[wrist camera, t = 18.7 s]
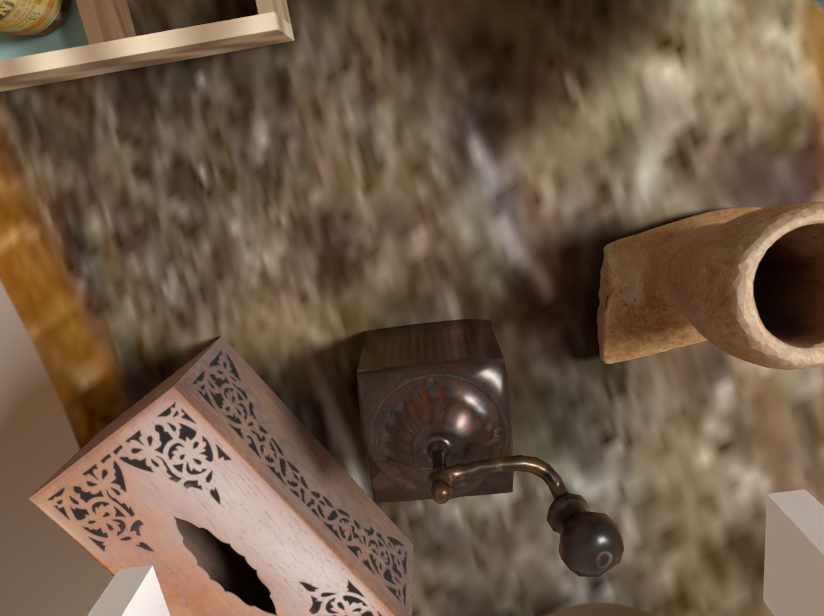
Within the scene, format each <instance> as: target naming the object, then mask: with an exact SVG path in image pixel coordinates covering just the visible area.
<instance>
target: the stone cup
mask: <svg viewBox="0 0 824 616" xmlns="http://www.w3.org/2000/svg"><path fill="white" fill-rule="evenodd" d="M603 253H604V261H603V264H602V268H601V271H600V275H601V279H600V289H599V299H600V304H599V308H598V312H597V325H598V342H599V350H600V358H601V360H602V362H604V363H606V364H611V363H615V362H620V361H626V360H630V359H634V358H639V357H643V356H648V355H652V354H655V353H659V352H664V351H667V350H671V349H673V348H676V347H683V346H687V345H691V344H695V343H698V342H702V341H706V340H708V341H710V342H711V343H713V344H714V345H715V346H717V347H718V348H720V349H721V350H723V351H725V352H726V353H728V354H730V355H732V356H734V357H737V358H739V359H742V360H744V361H747V362H750V363H753V364H757V365H760V366H764V367H767V368H775V369H786V370H791V369H803V368H810V367H817V366H821V365H824V202H801V203H788V204H778V205H774V206H770V207H765V208H756V207H738V208H728V209H721V210H714V211H710V212H706V213H702V214H698V215H695V216H692V217H688V218H685V219H682V220H679V221H676V222H672V223H669V224H666V225H663V226H660V227H657V228H654V229H651V230H648V231H645V232H642V233H639V234H636V235H633V236H629V237H626V238H622V239H619V240H616V241H614V242H612V243H610V244H607V245H606V246H605V247H604V251H603Z"/></svg>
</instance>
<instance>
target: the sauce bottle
mask: <svg viewBox="0 0 824 616" xmlns="http://www.w3.org/2000/svg"><path fill="white" fill-rule="evenodd" d="M70 2H71V0H0V31H1V32H4V33H7V34H10V35H19V36H38V35H45V34H49V33H51V32H52V31H53V30H55V29H58V28H59V26H60V25H61V24H62V22H63V21H64V19H65V17H66V15H67V12H68V8H69V6H70Z"/></svg>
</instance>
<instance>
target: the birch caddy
mask: <svg viewBox="0 0 824 616" xmlns="http://www.w3.org/2000/svg"><path fill="white" fill-rule="evenodd" d="M256 5H257V9H258V14H259V15H254V16H248V17H242V18H237V19H231V20H225V21H220V22H214V23H209V24H203V25H197V26H192V27H186V28H180V29H175V30H169V31H163V32H158V33H152V34H147V35H141V36H136V33H135V29H134V25H133V22H132V18H131V14H130V11H129V7H128V3H127V0H71V2H70V6H69V8H68V12H67V15H66V17H65V19H64V21H63V22H62V24H61V25H60V26H59V28H58V29H55V30H53V31H52V32H51V33H49V34H45V35H38V36H19V35H10V34H7V33H4V32H1V31H0V92H4V91H9V90H15V89H21V88H26V87H32V86H38V85H44V84H49V83H55V82H61V81H67V80H72V79H78V78H84V77H90V76H95V75H101V74H107V73H113V72H118V71H124V70H130V69H136V68H141V67H147V66H153V65H158V64H164V63H170V62H176V61H181V60H187V59H193V58H199V57H204V56H210V55H216V54H222V53H227V52H233V51H239V50H245V49H250V48H256V47H262V46H268V45H273V44H279V43H285V42H290V41H294V36H293V31H292V26H291V21H290V16H289V11H288V6H287V1H286V0H256Z"/></svg>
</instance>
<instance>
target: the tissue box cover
mask: <svg viewBox="0 0 824 616" xmlns="http://www.w3.org/2000/svg"><path fill="white" fill-rule="evenodd" d="M29 500H30V501H31V502H32V503H34V504H35V505H36V506H37V507H38V508H39V509H40V510H42V511H43V512H44V513H45V514H46V515H47V516H48V517H49V518H50V519H51V520H52V521H54V522H55V523H56V524H57V525H58V526H59V527H60V528H61V529H62V530H64V531H65V532H66V533H67V534H68V535H69V536H70V537H71V538H73V539H74V540H75V541H76V542H77V543H78V544H79V545H80V546H81V547H82V548H84V549H85V550H86V551H87V552H88V553H89V554H90V555H91V556H92V557H93V558H95V559H96V560H97V561H98V562H99V563H100V564H101V565H103V566H104V567H105V568H106V569H107V570H108V571H109V572H110V573H111V574H113V576H115V574H116V573H117V572H118V570H119V569H124V568H133V567H141V566H150V565H153V568H154V571H155V574H156V576H157V579H158V582H159V585H160V588H161V591H162V594H163V596H164V599H165V602H166V605H167V608H168V611H169V614H170V616H412V593H413V544H412V543H411V542H410V541H409V540H408V539H407V538H406V536H405V535H404V534H403V533H402V532H401V531H400V530H399V529H398V528H397V527H396V526H395V524H394V523H393V522H392V521H391V520H390V519H389V518H388V517H387V516H386V515H385V514H384V512H383V511H382V510H381V509H380V508H379V507H378V506H377V505H376V504H375V503H374V501H373V500H372V499H371V498H370V497H369V496H368V495H367V494H366V493H365V492H364V491H363V489H362V488H361V487H360V486H359V485H358V484H357V483H356V482H355V481H354V480H353V479H352V477H351V476H350V475H349V474H348V473H347V472H346V471H345V470H344V469H343V468H342V466H341V465H340V464H339V463H338V462H337V461H336V460H335V459H334V458H333V457H332V456H331V454H330V453H329V452H328V451H327V450H326V449H325V448H324V447H323V446H322V445H321V443H320V442H319V441H318V440H317V439H316V438H315V437H314V436H313V435H312V434H311V433H310V431H309V430H308V429H307V428H306V427H305V426H304V425H303V424H302V423H301V422H300V421H299V419H298V418H297V417H296V416H295V415H294V414H293V413H292V412H291V411H290V410H289V408H288V407H287V406H286V405H285V404H284V403H283V402H282V401H281V400H280V399H279V398H278V396H277V395H276V394H275V393H274V392H273V391H272V390H271V389H270V388H269V387H268V386H267V384H266V383H265V382H264V381H263V380H262V379H261V378H260V377H259V376H258V375H257V373H256V372H255V371H254V370H253V369H252V368H251V367H250V366H249V365H248V364H247V363H246V361H245V360H244V359H243V358H242V357H241V356H240V355H239V354H238V353H237V352H236V351H235V349H234V348H233V347H232V346H231V345H230V344H229V343H228V342H227V341H226V340H225V338H224V337H223V336H221V337H220V338H218V339H217V340H216V341H214V342H213V343H212V344H211V345H209V346H208V347H207V348H206V349H204V350H203V351H202V352H200V353H199V354H198V355H197V356H195V357H194V358H193V359H191V360H190V361H189V362H188V363H186V364H185V365H184V366H183V367H181V368H180V369H179V370H177V371H176V372H175V373H174V374H172V375H171V376H170V377H168V378H167V379H166V380H165V381H163V382H162V383H161V384H160V385H158V386H157V387H156V388H154V389H153V390H152V391H151V392H149V393H148V394H147V395H145V396H144V397H143V398H142V399H140V400H139V401H138V402H136V403H135V404H134V405H133V406H131V407H130V408H129V409H128V410H126V411H125V412H124V413H122V414H121V415H120V416H119V417H117V418H116V419H115V420H113V421H112V422H111V423H110V424H108V425H107V426H106V427H105V428H103V429H102V430H101V431H100V432H99V433H98V434H96V435H95V436H94V437H93V438H92V439H91V440H90V441H89V442H88V443H87V444H86V445H85V446H84V447H83V448H82V449H81V450H80V451H79V452H78V453H76V454H75V455H74V456H73V457H72V458H71V459H70V460H69V461H68V462H67V463H66V464H65V465H64V466H63V467H62V468H61V469H60V470H58V471H57V472H56V473H55V474H54V475H53V476H52V477H51V478H50V479H49V480H48V481H47V482H46V483H45V484H44V485H43V486H42V487H41V488H40V489H38V490H37V492H35V493H34V494H33V495H32V496H31V497H30V498H29ZM203 528H204V529H205V530H206V531H207V532H208V533H209V534H210V535H211V536H212V537H213V538H214V539H215V540H216V541H217V542H218V543H219V544H220V545H221V546H222V547H223V548H224V549H225V550H226V551H227V552H228V553H229V554H231V555H232V556H233V557H234V558H235V559H236V560H237V561H238V562H239V563H240V564H241V565H242V566H243V567H244V568H245V569H246V570H247V571H248V572H249V573H250V574H251V575H252V576H253V577H254V578H255V579H256V580H257V581H258V582H259V583H260V584H261V585H262V586H263V587H264V588H265V589H267V590H268V591H269V592H270V593H271V594H269V593H268V592H267V591H266V590H265V589H264V588H263V587H262V586H261V585H260V584H259V583H258V582H257V581H256V580H255V579H254V578H253V577H252V576H251V575H250V574H249V573H248V572H247V571H246V570H245V569H244V568H243V567H242V566H241V565H240V564H239V563H238V562H237V561H236V560H234V559H233V558H232V557H231V556H230V555H229V554H228V553H227V552H226V551H225V550H224V549H223V548H222V547H221V546H220V545H219V544H218V543H217V542H216V541H215V540H214V539H213V538H212V537H211V536H210V535H209V534H208V533H207V532H206V531H205V530H204V529H203Z"/></svg>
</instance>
